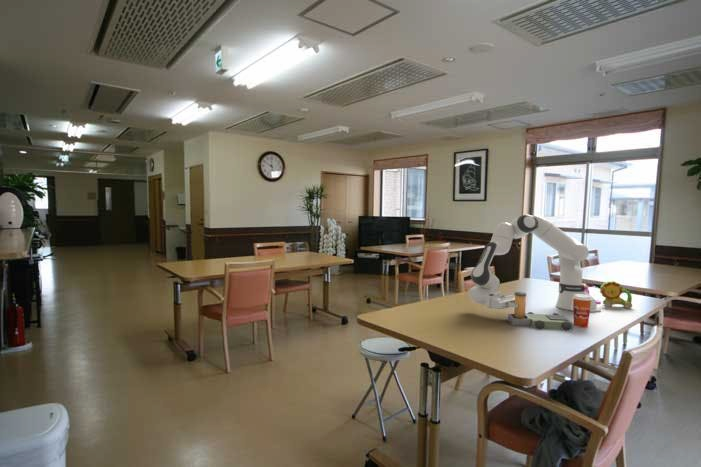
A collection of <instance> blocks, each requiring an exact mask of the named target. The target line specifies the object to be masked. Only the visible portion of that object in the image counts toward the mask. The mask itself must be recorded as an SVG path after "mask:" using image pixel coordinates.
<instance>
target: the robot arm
mask: <svg viewBox="0 0 701 467" xmlns="http://www.w3.org/2000/svg"><path fill="white" fill-rule="evenodd" d="M530 233H531V234H532V235H534V236H536V237H537V238H538V239H540V240H541V241H542V242H543V243H545V244H546V245H547V246H549V247H550V248H552V249H553V250H555V251H556V252H558V253H557V254H558V261H559V268H560V274H559V276H560V277H559V283H558V297H557V302H556V304H555V307H557V308H558V309H563V310H566V311H571V312H573V296H574V294H583V295H588V296H591V295H590V293H589V294H588V293H587V292H585V290H589V286H587V285H584V284H583V270H582V269H583V268H582V267H581V266H582V265H581V262H582V261H585V260H586V259H588V258H589V255H590V252H589V251H590V250H589V249H588V247H587V246H586V245H585V244H584V243H582V242H581V241H579V240H578V239H576V238H574V237H573V236H572V235H570V234H568V233H566V232H565V231H563V230H562V229H560V227H558V226H556V225H555V224H554V223H553V222H551V221H549V220H548V219H546V218H545V217H543V216H541V215H539V214H533V215H531V214H522V215H519V216H518V217H516V218H514V219H513V220H512V221H510V222H506V221H505V222H500V223H498V224H497V226H496V227H495V229H494V231H493V234H492V237H491V239H490V241H489V242H488V243H486V245H485V247H484V249H483V251H482V253H481V255H480V256H479V260H478V262H477V263H476V265H475V266H474V268H473V269H472V271H471V275H470V278H471V281H472V282H473V283H475V285H474V286H473V287H472V286H471V288H469V291H468V295H469V299H470V300H471V301H472V302H473V303H475V304H479V305H482V306H486V308H488V309H495V310H503V309H508V308H514V307H515V308H518V307H519V304H516V303H515V294H514V295H512V294H508V295H505V294H504V293H503V292H502V291H498V290H499V288H500V286H501V285H500V284H501V283H500V281H501V280H500V279H499V278H498V276H496V275H495V274H494V273H493V272H491V270H490V266H491V263H492V261H493V258H494V257H495V256H503V255H506V254H508V253H509V251H510V250H511V247H512V245H513V244H512V243H513V240H519V239H522V238H523V237H525V236H527V235H528V234H530ZM591 299H592V300H591V305H590V312H591V313H592V312H593V313H594V312H596V313H598V312H601V310H602V309H601V308H600V307H599V306H597V304H596V301H595V300H596V299H595V298H594V297H593V296H591ZM526 305H527V302H526V303H525V306H526Z"/></svg>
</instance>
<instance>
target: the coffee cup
mask: <svg viewBox="0 0 701 467" xmlns="http://www.w3.org/2000/svg"><path fill="white" fill-rule="evenodd" d="M591 300H592V299H591V295H590V296H588V295H583V294H574V296H573V311H572V312H573V326H575V325H576V326H575V327H578V326H579V328H588V326H589V321H590V320H589V319H590V314H591V313H590V305H591Z"/></svg>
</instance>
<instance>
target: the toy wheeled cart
mask: <svg viewBox="0 0 701 467" xmlns="http://www.w3.org/2000/svg"><path fill="white" fill-rule="evenodd" d="M525 314H526V315H528V316H529V317H530V318H531V319H532V324H531V326H530V327H531V328H533V329H538V330H542V329H546V330H547V329H549V330H550V329H552V330H564V331H567V330H568V331H573V330H574V321H571V320H570V319H568V318H567V317H566V316H565V315H561V314H558V313H556V312H554V313H552V314H544V313H543V314H542V313H534V312H532V311H528V312H527V313H526V312H525Z"/></svg>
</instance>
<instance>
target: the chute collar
mask: <svg viewBox="0 0 701 467" xmlns="http://www.w3.org/2000/svg"><path fill="white" fill-rule="evenodd" d="M507 321H508V322H509V324H510V323H511V324H512V325H511V324H510V325H511V326H513V325H516V326H518V327H531V324H532V319H531V318H530V317H529V316H528V315H526V314H525V319H523V318H514V313H507ZM516 326H515V327H516Z"/></svg>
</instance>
